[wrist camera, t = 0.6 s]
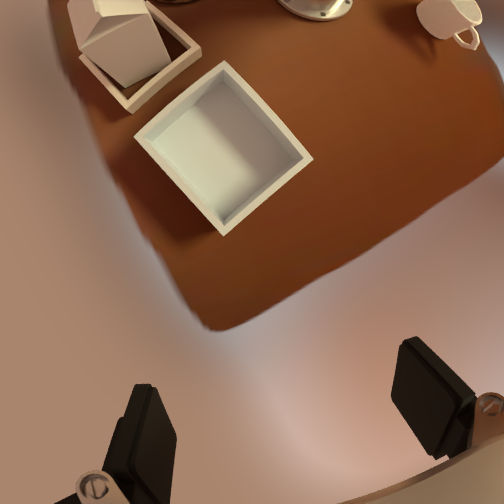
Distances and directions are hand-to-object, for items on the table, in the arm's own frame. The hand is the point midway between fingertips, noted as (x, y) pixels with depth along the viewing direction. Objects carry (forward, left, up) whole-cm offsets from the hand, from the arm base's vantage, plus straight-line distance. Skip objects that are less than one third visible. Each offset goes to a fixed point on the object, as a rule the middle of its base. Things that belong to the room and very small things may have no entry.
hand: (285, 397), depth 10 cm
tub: (-6, -10, -31) cm, 32 cm away
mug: (-51, -6, -31) cm, 60 cm away
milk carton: (-6, -28, -31) cm, 42 cm away
